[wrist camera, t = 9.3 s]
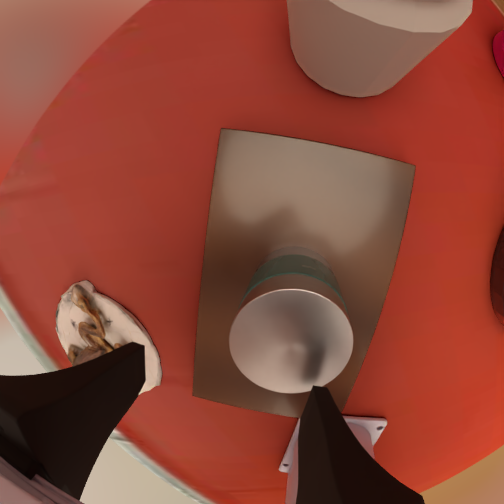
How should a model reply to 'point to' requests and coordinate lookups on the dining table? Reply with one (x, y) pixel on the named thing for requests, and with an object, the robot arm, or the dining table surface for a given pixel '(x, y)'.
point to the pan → (498, 279)
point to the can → (368, 39)
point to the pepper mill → (499, 50)
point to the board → (295, 235)
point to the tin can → (292, 324)
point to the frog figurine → (101, 329)
